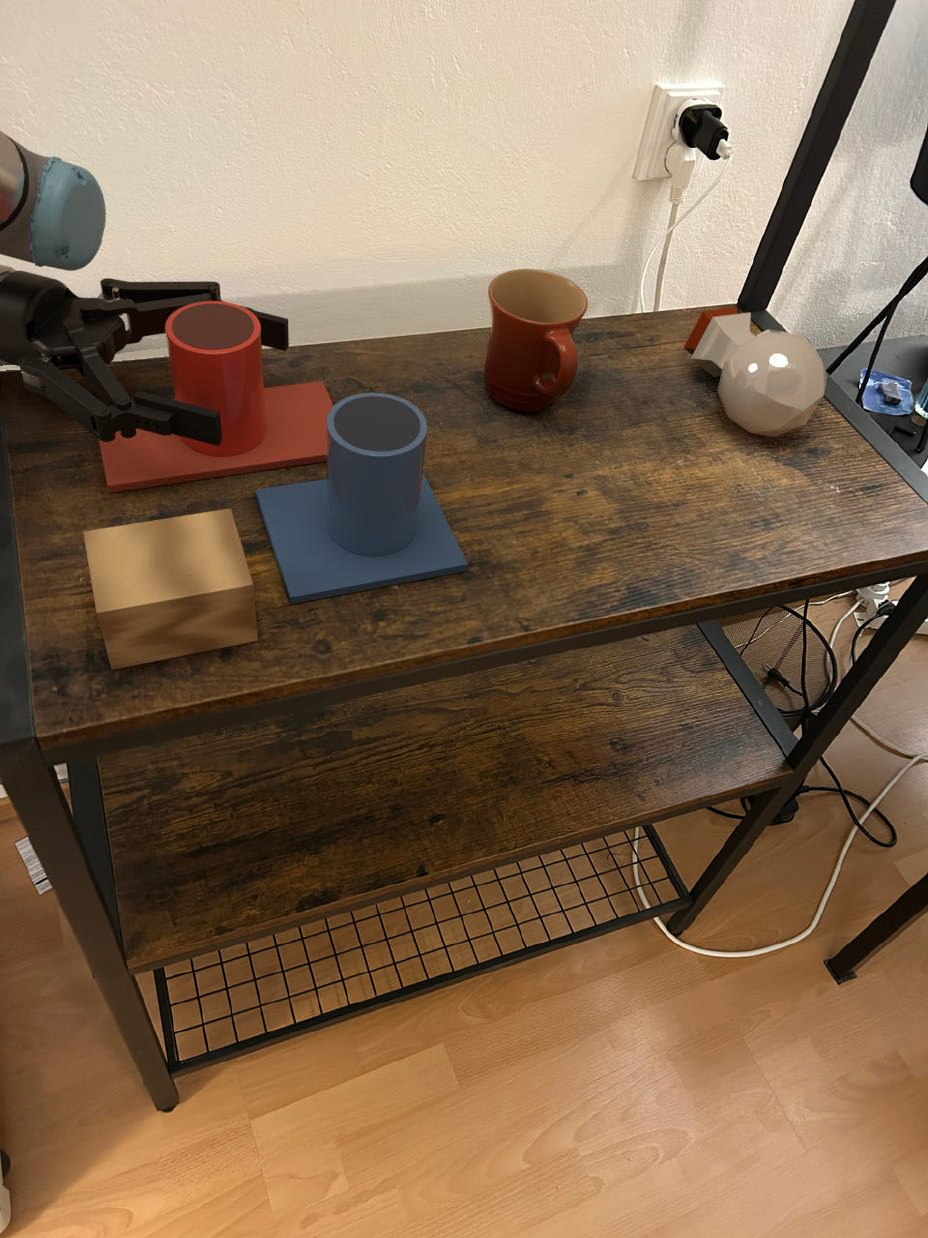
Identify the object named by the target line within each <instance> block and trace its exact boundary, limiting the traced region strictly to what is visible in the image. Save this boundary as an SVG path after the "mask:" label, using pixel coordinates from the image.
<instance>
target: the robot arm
mask: <svg viewBox="0 0 928 1238" xmlns="http://www.w3.org/2000/svg"><path fill="white" fill-rule="evenodd" d="M106 220H107V209H106V201H105V197H104V193H103V190H102V188H101V186H100V184H99V182H98V180H97V178H96V177H95V176H94V175H93V174H92V172H91V171H89V170H88V169H86V168H84V167H82V166H81V165H76V164H73V163H71V162H68V161H66V160H65V161H64V160H62V158H60V157H58V156H54V155H53V156H51V157H50V156H45V155H41V154H38V153H36V152H33V151H31V150H29V149H27V148H26V147H24V146H23V145H22V144H20V143H19V142H18V141H16V140H15V139H13V138H12V137H10V136H9V135H8V134H6V133H4V132H3V131H1V130H0V255H2V256H6V257H9V258H12V259H15V260H20V261H24V262H27V263H31V264H34V266H35V267H39V268H42V267H48V268H53V269H57V270H58V269H59V270H62V271H68V272H75V271H78V270H82V269H83V268H85V267H87V266H88V265H89V264H90V263H91V262H92V261H93V260H94V259H95V257H96V256H97V254H98V252H99V250H100V248H101V246H102V243H103V236H104V233H105V229H106ZM99 284H100V288H101V292H100V294H99V295H98V296H97V297H81V296H78V295H77V294H75V293H74V292H73V291H72V290H71V289H70V288H69V287H68V286H67V285H66V284H65V283H64V282H62V281H61V280H59V279H56V278H53V277H48V276H45V275H40V274H37V273H33V272H29V271H25V270H16V269H15V268H14V267H12V266H9V265H5V264H0V361H2V362H4V363H6V364H10V365H13V366H16V367H19V369H20V372H21V377H22V381H23V384H24V388H25V390H26V391H29V392H31V393H34V394H36V395H40V396H42V397H45V398H47V399H48V400H50V401H51V402H52V403H53V404H55V405H56V406H57V407H58V408H60V409H61V410H62V411H63V412H64V413H66V414H67V415H69V416H70V417H71V418H72V419H73V420H75V421H76V422H77V423H78V424H80V425H81V426H82V427H83V428H85V430H87V431H88V432H90V433H91V434H92V435H93V436H94V437H96V439H98V440H99V439H100V440H101V441H103V442H110V441H113V440H114V439H115V438H116V435H115V433H116V432H118V431H120V433H121V436H122V437H124V438H132V437H134V436H135V435H136V433H137V432H136V428H137V429H141V430H144V431H148V432H152V433H156V434H159V435H164V436H170V435H171V434H175V435H178V436H182V437H186V438H190V439H193V440H197V441H201V442H205V443H208V444H212V445H216V446H219V445H220V443H221V442H222V430H221V419H220V412H219V411H215V410H211V409H207V408H203V407H200V406H196V405H192V404H188V403H184V402H181V401H177V400H173V399H174V398H170V397H169V398H168V397H165V396H162V395H157V394H154V393H151V392H145V391H143V390H138V391H137V392H136V393H135V394H134V395H133V399H134V401H132V399H131V397H130V396H129V394H128V393H127V391H126V389H125V388H124V387H123V386H122V384H121V382H120V381H119V380H118V378H117V377H116V376H115V375H114V373H113V372H112V370H111V369H110V368H109V365H110V364H111V363H112V362H113V361H114V359H115V356H116V354H117V353H119V352H121V351H122V350H123V349H124V348H126V347H127V345H132V344H137V343H140V342H141V341H142V340H143V338H144V337H150V336H156V335H164V334H166V332H165V324H166V321H167V319H168V318H169V317H170V315H171V314H172V313H174V312H175V311H176V310H178V309H180V308H182V307H184V306H186V305H189V304H193V303H197V302H204V301H221V302H225V300H222V294H221V285H220V283H219V282H217V281H213V280H212V281H211V280H209V281H201V280H200V281H128V280H122V279H117V278H116V279H115V278H111V277H106V278H102V279H101V280H100V281H99ZM240 306H241V307H244V308H246V309H247V310H249V311H251V312H252V313H253V314H254V315H255V316H256V317H257V318H258V320H259V322H260V325H261V341H262V346H263V347H267V348H271V349H275V350H279V351H283V352H286V351H287V350H288V349H289V348H290V339H289V338H290V336H289V332H290V331H289V319H288V318H286V317H282V316H278V315H274V314H271V313H266V312H262V311H258V310H254V309H253V308H251V307H247V306H243V305H240ZM123 315H126V320H127V326H128V328H127V329H126V324H125V321H124V319H123V318H122V317H121V316H123ZM67 370H75V371H76V372H77V373H78V374H79V376H80V377H81V378H82V380H83V381H84V383H85V384H86V385H87V386H88V387H89V386H90V388H91V389H92V391H93V392H94V393H95V395H96V396H97V397H96V396H95V395H93V394H92V393H91V392H90V391H88V390H87V389H85V388H84V387H83V386H82V385H81V384H79V383H78V382H77V381H76V380H75V379H73V378H71V377H70V376H69V375H68V374H67V373H65V372H64V371H67Z"/></svg>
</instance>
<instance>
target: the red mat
mask: <svg viewBox="0 0 928 1238" xmlns="http://www.w3.org/2000/svg"><path fill="white" fill-rule="evenodd" d="M264 396H265V414H266V434H265V436H264V438H263V440H262V441H261V442H260V443H259V444H258V445H257V446H256V447H254V448H253V449H251V450H249V451H247V452H245V453H242V454H238V455H233V456H211V455H206V454H202V453H200V452H197V451H195V450H193V449H192V448H190V447H189V446H188V445H186V444H185V442H184V441H183V440H182V438H181V436H178V435H175V434H171V435H170V436H164V435H159V434H156V433H152V432H148V431H144V430H141V429H137V428H136V432H137V433H136V435H135V436H134V437H132V438H124V437H122V436H121V433H120V431H118V432H116V433H115V435H116V438H115V439H114V440H113V441H110V442H103V441H101V440H100V439H98V443H99V450H100V453H101V454H100V455H101V459H102V463H103V464H102V465H103V469H104V475H105V480H106V486H107V489H108V493H111V494H112V493H119V492H127V491H132V490H138V489H145V488H152V487H160V486H167V485H172V484H181V483H187V482H194V481H200V480H207V479H214V478H221V477H228V476H234V475H241V474H247V473H254V472H262V471H263V472H264V471H268V470H269V471H270V470H276V469H284V468H289V467H296V466H303V465H304V466H305V465H309V464H310V465H311V464H317V463H323V462H326V433H327V417H328V414H329V412H330V410H331V409H332V408H333V407H334V406H335V405H334V404H333V401H332V399H331V397H330V394H329V392H328V389H327V388H326V385H325V383H324V381H323V380H321V381H313V382H304V383H296V384H288V385H287V384H286V385H280V386H279V385H277V386H271V387H264ZM172 399H173V400H175V398H172Z"/></svg>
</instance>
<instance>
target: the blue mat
mask: <svg viewBox="0 0 928 1238" xmlns="http://www.w3.org/2000/svg"><path fill="white" fill-rule="evenodd" d="M254 494H255V500H256V503H257V507H258V509H259V511H260V514H261V518H262V521H263V524H264V527H265V530H266V533H267V536H268V539H269V540H268V541H269V543H270V546H271V549H272V552H273V554H274V558H275V561H276V564H277V567H278V571H279V573H280V574H279V575H280V577H281V579H282V583H283V586H284V589H285V592H286V594H287V598H288V601H289V604H290V605H295V604H301V603H306V602H310V601H317V600H320V599H321V600H322V599H326V598H332V597H337V596H342V595H348V594H352V593H357V592H363V591H369V590H374V589H379V588H383V587H388V586H395V585H400V584H405V583H410V582H411V583H412V582H415V581H420V580H427V579H431V578H437V577H442V576H447V575H452V574H458V573H462V572H467V571H468V567H469V563H468V561H467V558H466V556H465V555H464V553H463V550H462V548H461V546H460V544H459V543H458V541H457V539H456V537H455V534H454V532H453V531H452V528H451V526H450V524H449V522H448V520H447V518H446V516H445V514H444V512H443V510H442V507H441V506H440V504H439V502H438V499H437V497H436V495H435V493H434V491H433V489H432V487H431V485H430V483H429V481H428V479H427V476H426V475H425V473H424V472H423V476H422V486H421V495H420V505H419V515H418V525H417V531H416V534H415V537H414V538H413V540H412V541H411V542H410V544H408V545H407V546H406V547H405V548H403V549H402V550H400V551H398V552H395V553H393V554H389V555H385V556H364V555H359V554H355V553H352V552H349V551H347V550H345V549H344V548H342V547H340V546H339V545H338V544H337V543H336V542H335V541H334V540H333V539H332V538H331V536H330V535H329V533H328V531H327V527H326V478H324V479H318V480H317V479H316V480H311V481H305V482H298V483H292V484H285V485H279V486H272V487H264V488H259V489H255V490H254Z"/></svg>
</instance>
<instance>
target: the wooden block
mask: <svg viewBox="0 0 928 1238" xmlns="http://www.w3.org/2000/svg"><path fill="white" fill-rule="evenodd" d="M82 532H83V533H82V534H83V539H84V540H83V541H84V546H85V551H86V557H87V562H88V563H87V564H88V571H89V575H90V576H89V577H90V582H91V588H92V595H93V601H94V606H95V612H96V617H97V620H98V624H99V628H100V632H101V636H102V639H103V643H104V647H105V650H106V654H107V658H108V661H109V665H110V670H112V671H114V670H118V669H123V668H129V667H133V666H138V665H143V664H149V663H154V662H159V661H163V660H168V659H173V658H178V657H183V656H189V655H193V654H199V653H203V652H209V651H214V650H218V649H224V648H229V647H235V646H239V645H245V644H249V643H254V642H258V641H259V637H258V623H257V610H256V599H255V585H254V581H253V577H252V575H251V571H250V569H249V568H250V567H249V564H248V561H247V558H246V555H245V551H244V548H243V545H242V540H241V538H240V534H239V531H238V527H237V525H236V520H235V518H234V514H233V510H232V509H231V508H225V509H218V510H212V511H205V512H200V513H199V512H198V513H192V514H186V515H179V516H174V517H166V518H161V519H155V520H154V519H153V520H148V521H142V522H141V521H140V522H134V523H129V524H122V525H116V526H109V527H103V528H97V529H91V530H84V531H82Z"/></svg>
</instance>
